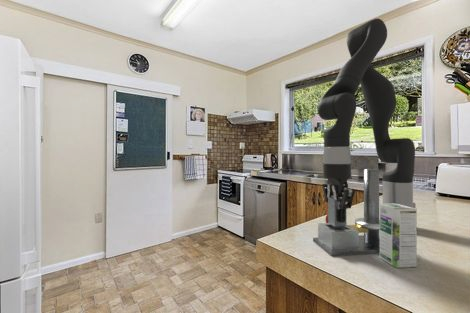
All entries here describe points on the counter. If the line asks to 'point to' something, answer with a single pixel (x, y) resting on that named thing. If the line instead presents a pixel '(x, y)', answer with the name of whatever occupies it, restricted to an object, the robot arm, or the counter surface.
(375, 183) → the bracket stand
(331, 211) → the grey rectangular block
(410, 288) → the counter surface
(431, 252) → the counter surface
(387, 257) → the syrup box
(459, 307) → the counter surface
